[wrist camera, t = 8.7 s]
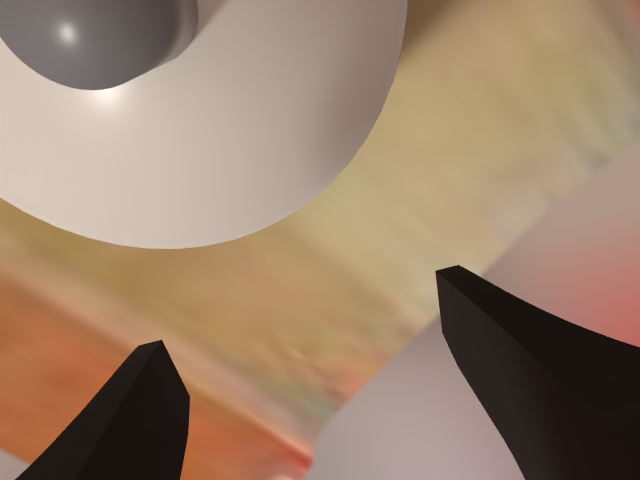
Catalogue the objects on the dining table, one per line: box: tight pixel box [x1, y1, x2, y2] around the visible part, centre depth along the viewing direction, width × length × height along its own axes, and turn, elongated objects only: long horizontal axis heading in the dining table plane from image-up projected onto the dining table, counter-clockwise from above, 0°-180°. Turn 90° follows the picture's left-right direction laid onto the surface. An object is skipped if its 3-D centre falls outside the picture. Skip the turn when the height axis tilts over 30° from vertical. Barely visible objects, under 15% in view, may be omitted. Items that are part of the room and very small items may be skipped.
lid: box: [0, 0, 408, 249], centre depth 10 cm, size 15×15×6 cm
